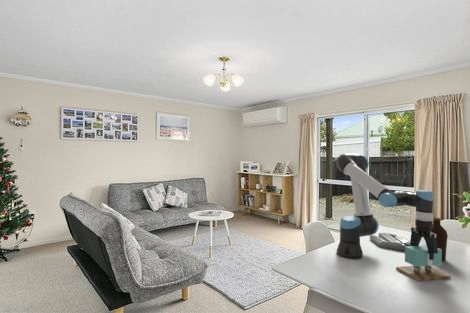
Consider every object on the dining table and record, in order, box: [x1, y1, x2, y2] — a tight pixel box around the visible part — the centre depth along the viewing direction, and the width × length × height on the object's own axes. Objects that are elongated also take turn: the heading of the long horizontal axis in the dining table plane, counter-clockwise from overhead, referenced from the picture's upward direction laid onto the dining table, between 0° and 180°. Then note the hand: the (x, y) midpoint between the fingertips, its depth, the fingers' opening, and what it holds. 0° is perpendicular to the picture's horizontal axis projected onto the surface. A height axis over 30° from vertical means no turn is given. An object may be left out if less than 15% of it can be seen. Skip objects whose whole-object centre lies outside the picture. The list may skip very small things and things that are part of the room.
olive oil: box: [430, 217, 449, 262], centre depth 165 cm, size 11×11×25 cm
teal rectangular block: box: [404, 244, 443, 267], centre depth 143 cm, size 16×7×8 cm, turn 102°
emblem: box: [369, 232, 412, 253], centre depth 190 cm, size 28×5×28 cm
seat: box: [395, 265, 452, 282], centre depth 143 cm, size 20×14×4 cm
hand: (422, 262), depth 143 cm, fingers closed on teal rectangular block, 7 cm apart
